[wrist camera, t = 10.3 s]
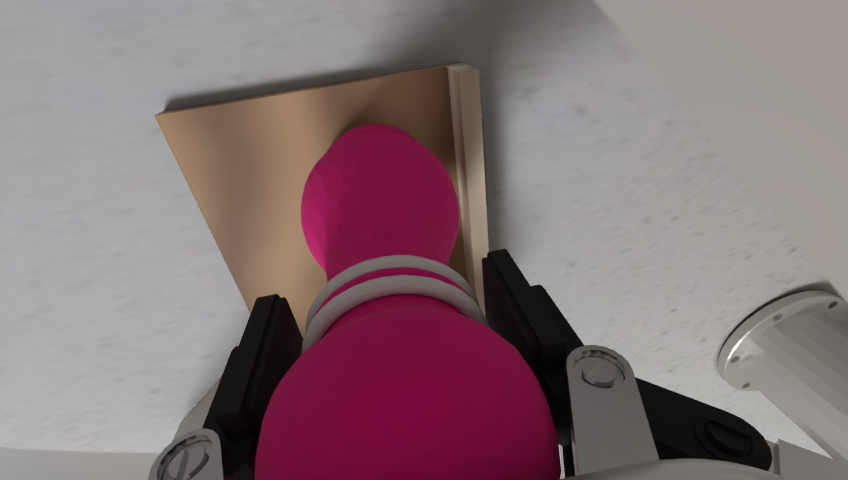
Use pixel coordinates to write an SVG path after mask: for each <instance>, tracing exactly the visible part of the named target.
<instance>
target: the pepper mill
mask: <svg viewBox="0 0 848 480" xmlns="http://www.w3.org/2000/svg"><path fill="white" fill-rule="evenodd" d="M301 225H302V229H303V233H304V236H305V239H306V242H307V245H308V247H309V249H310V252H311V254H312V255H313V257H314V258H315V260H316V261H317V263H318V264H319V265H320V266H321V267H322V268H323V270H324V271H325V272H326V275H327V284H326V285H325V286H324V287H323V288H322V289H321V291H320V292H319V293H318V295H317V296H316V298H315V300H314V301H313V303H312V305H311V307H310V309H309V312H308V316H307V320H306V333H305V336H304V339H303V343H302V350H301V356H300V357H299V358H298V359H297V361H296V362H295V363H294V364H293V366H292V367H291V368H290V369H289V371H288V372H287V373H286V374H285V376H284V377H283V378H282V379H281V381H280V383H279V384H278V386H277V387H276V389H275V391H274V392H273V395H272V397H271V400H270V402H269V405H268V407H267V410H266V412H265V415H264V418H263V421H262V426H261V431H260V436H259V441H258V447H257V452H256V457H255V480H559V479H560V474H561V466H560V456H559V446H558V435H557V432H556V428H555V425H554V421H553V418H552V415H551V411H550V408H549V404H548V402H547V399H546V397H545V394H544V392H543V390H542V388H541V386H540V384H539V382H538V380H537V378H536V376H535V374H534V373H533V371H532V370H531V368H530V367H529V366H528V364H527V363H526V361H525V360H524V359H523V357H522V356H521V354H520V353H519V352H518V350H517V349H516V348H515V347H514V346H513V345H512V344H510V343H509V342H508V341H506V340H505V339H504V338H502V337H501V336H500V335H499V334H497V333H496V332H495V331H493V330H492V329H491V328H490V327H488V323H487V320H486V318H485V316H484V314H483V312H482V310H481V309H480V306H479V302H478V300H477V297H476V295H475V292H474V291H473V289H472V288H471V286H470V285H469V284H468V283H467V282H466V280H465V279H464V278H463V277H462V276H461V275H460V274H458V273H457V272H455V271H454V270H453V269H451V268H450V267H448V264H449V258H450V255H451V252H452V250H453V247H454V244H455V241H456V238H457V233H458V226H459V205H458V199H457V195H456V192H455V189H454V185H453V182H452V180H451V177H450V175H449V173H448V171H447V169H446V168H445V166H444V165H443V164H442V162H441V161H440V160H439V159H438V158H437V157H436V156H435V155H434V154H433V153H432V152H431V151H430V150H429V149H427V148H426V147H425V146H423V145H421V144H420V143H419V142H418V141H417V140H416V139H415V138H414V137H412V136H411V135H410V134H408V133H407V132H405V131H403V130H401V129H399V128H396V127H394V126H389V125H385V124H368V125H362V126H359V127H356V128H353V129H351V130H349V131H347V132H346V133H344V134H343V135H342V136H340V137H339V138H338V139H337V140H336V141H335V142H334V143H333V144H332V145H331V146H330V148H329V149H328V151H327V152H326V153H325V154H324V155H323V156H322V157H321V158H320V160H319V161H318V162H317V163H316V164H315V166H314V167H313V169H312V170H311V172H310V173H309V176H308V178H307V180H306V183H305V186H304V190H303V195H302V202H301Z"/></svg>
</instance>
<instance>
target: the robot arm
mask: <svg viewBox="0 0 848 480" xmlns="http://www.w3.org/2000/svg"><path fill="white" fill-rule="evenodd" d="M482 274H483V289H484V304H485V318H486V320H487V323H488V327H490V328H491V329H492V330H493V331H495V332H496V333H497V334H499V335H500V336H501V337H502V338H504V339H505V340H506V341H508V342H509V343H510V344H512V345H513V346H514V347H515V348H516V349H517V350H518V352H519V353H520V354H521V356H522V357H523V359H524V360H525V361H526V363H527V364H528V366H529V367H530V368H531V370H532V371H533V373H534V374H535V376H536V378H537V380H538V382H539V384H540V386H541V388H542V390H543V392H544V394H545V397H546V399H547V402H548V404H549V408H550V411H551V415H552V418H553V421H554V425H555V428H556V432H557V435H558V444H559V445H560V453H561V465H562V477H563V479H559V480H848V304H847V303H846V302H845V301H844V300H842V299H841V298H839V297H837V296H836V295H834V294H832V293H829V292H827V291H820V290H815V291H805V292H800V293H795V294H792V295H789V296H787V297H784V298H781V299H779V300H777V301H775V302H773V303H771V304H769V305H767V306H766V307H764V308H763V309H761V310H759V311H758V312H756V313H755V314H754V315H752V316H751V317H750V318H748V319H747V320H746V321H745V322H744V323H743V324H741V325H740V326H739V327H738V328H737V329H736V330H735V331H734V333H733V334H732V335H731V336H730V337H729V338H728V340H727V341H726V343H725V345H724V346H723V348H722V350H721V352H720V355H719V359H718V364H717V365H718V372H719V374H720V376H721V377H722V378H723V379H724V380H725V381H726V382H727V383H728V384H729V385H730V386H732V387H733V388H735V389H739V390H746V391H754V390H759V391H760V392H761V393H762V394H763V395H764V396H765V397H766V398H768V399H769V400H770V401H771V402H772V403H773V404H774V405H775V406H776V407H777V408H778V409H780V410H781V411H782V412H783V413H784V414H785V415H786V416H787V417H788V418H789V419H791V420H792V421H793V422H794V423H795V424H796V425H797V426H798V427H799V428H800V429H801V430H803V431H804V432H805V433H806V434H807V435H808V436H809V437H810V438H811V439H812V440H813V441H815V442H816V443H817V444H818V445H819V446H820V447H821V448H822V449H823V450H824V451H826V452H827V453H828V454H829V455H830V456H831V457H832V458H833V459H831V458H828V457H826V456H823V455H820V454H818V453H815V452H812V451H810V450H807V449H804V448H801V447H799V446H796V445H793V444H791V443H788V442H785V441H782V440H780V439H778V441H777V442H776V444H775V443H773V442H770V441H767V440H765V439H764V437H763V436H762V435H761V434H760V433H759V432H758V431H757V430H756V429H755V428H754V427H753V426H751V425H750V424H749V423H747V422H746V421H744V420H743V419H741V418H739V417H737V416H735V415H733V414H731V413H729V412H726V411H723V410H721V409H718V408H716V407H713V406H710V405H708V404H705V403H702V402H700V401H697V400H694V399H692V398H689V397H686V396H684V395H681V394H678V393H676V392H673V391H670V390H668V389H665V388H662V387H660V386H657V385H654V384H652V383H649V382H646V381H644V380H641V379H638V378H636V377H635V376H634V373H633V370H632V368H631V366H630V364H629V362H628V361H627V360H626V359H625V358H624V357H623V356H622V355H620V354H618V353H617V352H615V351H614V350H611V349H609V348H606V347H603V346H597V345H585V346H584V345H583V343H582V342H581V340H580V339H579V337H578V336H577V335H576V333H575V332H574V330H573V329H572V327H571V326H570V325H569V323H568V322H567V320H566V319H565V317H564V316H563V315H562V313H561V312H560V310H559V309H558V307H557V306H556V305H555V303H554V302H553V300H552V299H551V297H550V296H549V295H548V293H547V292H546V290H545V289H544V288H543V287H542V286H541V285H535V286H530V285H529V283H528V282H527V280H526V279H525V277H524V276H523V274H522V273H521V271H520V270H519V268H518V266H517V265H516V263H515V262H514V260H513V259H512V257H511V256H510V254H509V253H508V251H507V250H506V249H501V250H496V251H491V252H488V253H487V257H485V258H482ZM302 343H303V337H302V335H301V333H300V330H299V328H298V325H297V323H296V320H295V318H294V315H293V313H292V311H291V308H290V306H289V303H288V301H287V299H286V298H285V297H282V298H280V296H279V295H278V294H273V295H268V296H263V297H258V298H257V299H256V301H255V304H254V306H253V309H252V312H251V314H250V317H249V320H248V323H247V325H246V328H245V331H244V333H243V336H242V339H241V342H240V344H239V346H236V347H235V348H234V349H233V350H232V352H231V354H230V357H229V359H228V362H227V364H226V367H225V370H224V372H223V375H222V377H221V380H220V383H219V385H218V388H217V390H216V393H215V396H214V398H213V401H212V403H211V406H210V409H209V411H208V414H207V416H206V419H205V422H204V424H203V427H202V429H197V430H193V431H191V432H188V433H185V434H184V435H182V436H180V437H179V438H177V439H176V440H174V441H173V442H172V443H171V444H169V445H168V446H167V447H166V448H165V449H164V450H163V451H162V453H161V454H160V455H159V456H158V457H157V459H156V460H155V462H154V464H153V466H152V468H151V470H150V474H149V479H148V480H255V457H256V452H257V447H258V441H259V436H260V431H261V426H262V421H263V418H264V415H265V412H266V410H267V407H268V405H269V402H270V400H271V397H272V395H273V392H274V391H275V389H276V387H277V386H278V384H279V383H280V381H281V379H282V378H283V377H284V376H285V374H286V373H287V372H288V371H289V369H290V368H291V367H292V366H293V364H294V363H295V362H296V361H297V359H298V358H299V357H300V356H301V350H302Z"/></svg>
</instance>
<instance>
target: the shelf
mask: <svg viewBox="0 0 848 480" xmlns="http://www.w3.org/2000/svg"><path fill="white" fill-rule="evenodd" d="M154 116H155V118H156V120H157V122H158V124H159V126H160V128H161V130H162V132H163V134H164V136H165V138H166V140H167V142H168V144H169V147H170V149H171V151H172V153H173V155H174V157H175V159H176V161H177V163H178V165H179V167H180V169H181V171H182V173H183V175H184V177H185V179H186V181H187V184H188V186H189V188H190V190H191V192H192V194H193V196H194V198H195V200H196V202H197V204H198V206H199V208H200V210H201V212H202V214H203V216H204V218H205V220H206V223H207V225H208V227H209V229H210V231H211V233H212V235H213V237H214V239H215V241H216V243H217V245H218V247H219V249H220V251H221V253H222V255H223V257H224V260H225V262H226V264H227V266H228V268H229V270H230V272H231V274H232V276H233V278H234V280H235V282H236V284H237V286H238V288H239V290H240V292H241V294H242V297H243V299H244V301H245V303H246V305H247V307H248V309H249V311H250V313H251V312H252V309H253V306H254V304H255V301H256V299H257V298H258V297H263V296H268V295H273V294H278V295H279V296H280V298H282V297H285V298H286V299H287V301H288V303H289V306H290V308H291V311H292V313H293V315H294V318H295V320H296V323H297V325H298V328H299V330H300V333H301V335H302V337H303V339H304V336H305V333H306V320H307V316H308V312H309V309H310V307H311V305H312V303H313V301H314V300H315V298H316V296H317V295H318V293H319V292H320V291H321V289H322V288H323V287H324V286H325V285H326V284H327V275H326V272H325V271H324V270H323V268H322V267H321V266H320V265H319V264H318V263H317V261H316V260H315V258H314V257H313V255H312V254H311V252H310V249H309V247H308V245H307V242H306V239H305V236H304V233H303V229H302V225H301V202H302V195H303V190H304V186H305V183H306V180H307V178H308V176H309V173H310V172H311V170H312V169H313V167H314V166H315V164H316V163H317V162H318V161H319V160H320V158H321V157H322V156H323V155H324V154H325V153H326V152H327V151H328V149H329V148H330V146H331V145H332V144H333V143H334V142H335V141H336V140H337V139H338V138H339V137H340V136H342V135H343V134H344V133H346V132H347V131H349V130H351V129H353V128H356V127H359V126H362V125H368V124H385V125H389V126H394V127H396V128H399V129H401V130H403V131H405V132H407V133H408V134H410V135H411V136H412V137H414V138H415V139H416V140H417V141H418V142H419V143H420V144H421V145H423V146H425V147H426V148H427V149H429V150H430V151H431V152H432V153H433V154H434V155H435V156H436V157H437V158H438V159H439V160H440V161H441V162H442V164H443V165H444V166H445V168H446V169H447V171H448V173H449V175H450V177H451V180H452V182H453V185H454V189H455V192H456V195H457V199H458V205H459V226H458V233H457V238H456V241H455V244H454V247H453V250H452V252H451V255H450V258H449V264H448V267H450V268H451V269H453V270H454V271H455V272H457V273H458V274H460V275H461V276H462V277H463V278H464V279H465V280H466V282H467V283H468V284H469V285H470V286H471V288H472V289H473V291H474V292H475V295H476V297H477V300H478V302H479V306H480V309H481V310H482V312H483V314H484V316H485V304H484V289H483V274H482V258H485V257H487V253H488V252H489V247H488V228H487V209H486V205H487V191H486V172H485V152H484V133H483V118H482V114H481V95H480V76H479V69H478V68H475V67H472V66H470V65H467V64H465V63H462V62H460V63H454V64H448V65H442V66H436V67H430V68H424V69H418V70H411V71H405V72H399V73H393V74H387V75H381V76H375V77H369V78H363V79H357V80H351V81H345V82H339V83H333V84H327V85H321V86H314V87H308V88H302V89H296V90H290V91H284V92H278V93H272V94H266V95H260V96H254V97H248V98H242V99H236V100H230V101H223V102H217V103H211V104H205V105H199V106H193V107H187V108H181V109H175V110H169V111H163V112H161V113H159V114H157V115H154Z"/></svg>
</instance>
